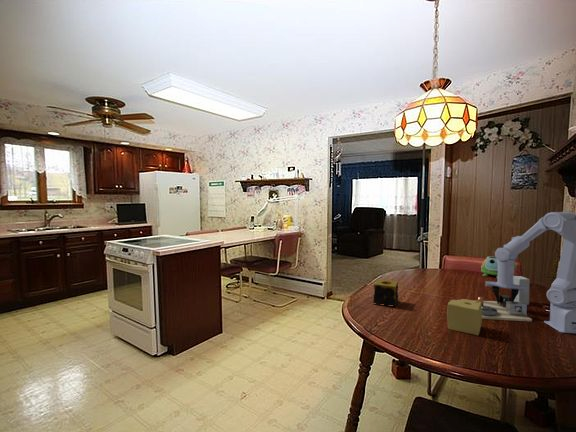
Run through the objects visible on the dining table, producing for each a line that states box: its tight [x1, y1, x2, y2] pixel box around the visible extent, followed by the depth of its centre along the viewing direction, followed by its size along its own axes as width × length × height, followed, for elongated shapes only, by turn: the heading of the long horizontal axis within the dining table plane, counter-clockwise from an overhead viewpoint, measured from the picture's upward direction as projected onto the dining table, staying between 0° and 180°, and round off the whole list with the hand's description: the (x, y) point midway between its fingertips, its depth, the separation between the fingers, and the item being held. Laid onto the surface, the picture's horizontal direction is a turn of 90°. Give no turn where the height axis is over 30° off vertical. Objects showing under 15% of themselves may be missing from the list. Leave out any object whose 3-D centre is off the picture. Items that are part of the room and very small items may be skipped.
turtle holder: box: [480, 255, 517, 279], centre depth 181 cm, size 12×18×12 cm
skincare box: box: [513, 275, 530, 306], centre depth 136 cm, size 6×4×12 cm
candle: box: [372, 279, 399, 307], centre depth 139 cm, size 10×10×10 cm
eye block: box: [506, 301, 528, 316], centre depth 120 cm, size 3×6×5 cm, turn 79°
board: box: [473, 300, 533, 322], centre depth 127 cm, size 20×20×1 cm
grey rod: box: [499, 294, 521, 311], centre depth 124 cm, size 12×3×4 cm, turn 169°
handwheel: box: [477, 296, 497, 316], centre depth 123 cm, size 9×9×5 cm
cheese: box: [446, 298, 483, 336], centre depth 111 cm, size 10×11×10 cm
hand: (504, 304), depth 129 cm, fingers open, 4 cm apart
